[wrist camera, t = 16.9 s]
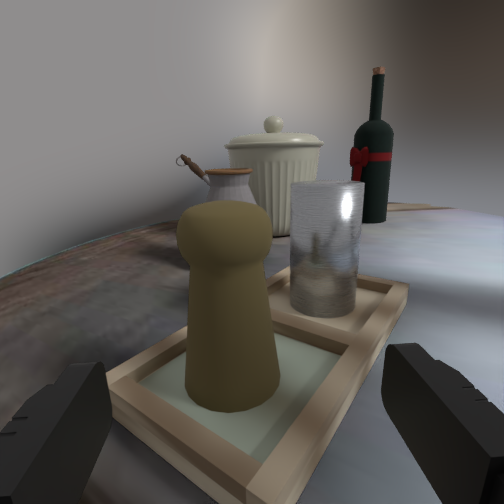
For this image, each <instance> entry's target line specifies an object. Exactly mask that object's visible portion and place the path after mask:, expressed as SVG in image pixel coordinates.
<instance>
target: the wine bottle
mask: <svg viewBox="0 0 504 504" xmlns="http://www.w3.org/2000/svg"><path fill="white" fill-rule="evenodd" d="M384 71H385V68H384V67H377V68H373V77H372V89H371V103H370V116H369V121H367V122H365V123H364V124H363V125H361V126H360V127H359V129H358V130H357V131H356V133H355V136H354V147H352V149H351V152H350V165H351V167H352V177H351V181H359V182H364V183H365V186H364V199H363V212H362V223H381V222H384V221H386V213H387V202H388V191H389V180H390V169H391V158H392V147H393V135H394V133H393V130H392V128H391V127H390V125H389V124H387V123H386V122H385V121H383V120H381V110H382V98H383V86H384V76H385V75H384Z"/></svg>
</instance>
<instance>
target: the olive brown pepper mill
mask: <svg viewBox="0 0 504 504" xmlns="http://www.w3.org/2000/svg"><path fill="white" fill-rule="evenodd" d="M176 237H177V245H178V248H179V251H180V253H181V256H182V257H183V258H184V259H185V260H186V261H187V262H188V264H189V265H190V280H189V301H188V323H187V344H186V366H185V389H186V391H187V394H188V396H189V397H190V398H191V399H192V400H193V401H194V402H195V403H196V404H197V405H199V406H201V407H203V408H206V409H208V410H210V411H215V412H223V413H233V412H241V411H247V410H249V409H252V408H254V407H257V406H260V405H261V404H263V403H264V402H265V401H267V400H268V399H269V398H271V397H272V396H273V394H274V393H275V391H276V390H277V388H278V387H279V382H280V376H281V375H280V369H279V362H278V356H277V350H276V343H275V337H274V330H273V324H272V317H271V311H270V305H269V298H268V292H267V285H266V279H265V272H264V266H263V260H264V259H265V258H266V256H267V255H268V253H269V251H270V247H271V243H272V239H273V228H272V224H271V220H270V218H269V216H268V215H267V213H266V211H265V210H264V209H263V208H261V207H260V206H258V205H256V204H253V203H248V202H243V201H234V200H220V201H212V202H206V203H202V204H199V205H196V206H193V207H190V208H188V209H187V210H186V211H184V212H183V214H182V216H181V218H180V220H179V222H178V225H177V232H176Z"/></svg>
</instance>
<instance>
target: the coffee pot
mask: <svg viewBox="0 0 504 504" xmlns="http://www.w3.org/2000/svg"><path fill="white" fill-rule="evenodd" d="M180 157H181V159H182V160H183V161H184V163H185V165H188V166H189V168H190V169H191V170H192V171H193V172H194V173H195V174H196V175H198V176H199V177H200V178H201V179H203V180H204V181H205V182H206V183H207V184H208V185H209V186H210V190H209V193H208V196H207V199H206V202H212V201H220V200H234V201H243V202H248V203H253V204H256V201H255V199H254V197H253V195H252V192H251V190H250V188H249V186H248V182H249V176H250V173H251V172H253V169H250V168H230V169H213V170H212V169H211V170H205V173H204V172H203V171H202V170H201V169H200V168H199V167H198V165H197V164H195V163H193V162H191V159H190V158H187V157H186V156H185V155H183V154H182V155H181V156H180ZM180 157H178V158H180ZM178 158H177V159H176V163H177V160H178ZM185 165H183V166H185ZM179 166H182V165H179ZM206 174H208V177H209V178H208V177H207V176H206ZM206 202H205V203H206ZM256 205H257V204H256ZM271 245H272V243H271ZM270 248H271V247H270Z"/></svg>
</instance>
